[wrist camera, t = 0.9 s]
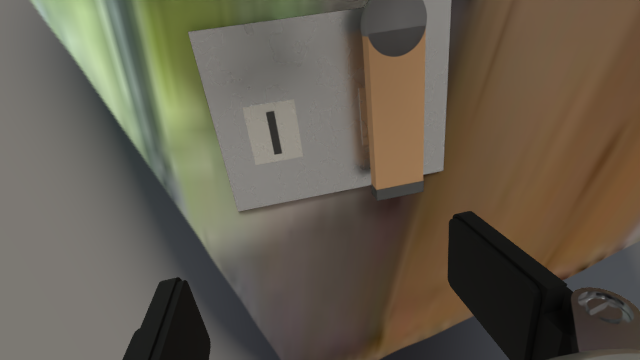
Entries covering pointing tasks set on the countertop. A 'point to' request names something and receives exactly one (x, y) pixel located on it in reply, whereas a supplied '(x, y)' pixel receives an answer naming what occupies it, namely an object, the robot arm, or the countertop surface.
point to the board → (306, 102)
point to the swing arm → (395, 94)
